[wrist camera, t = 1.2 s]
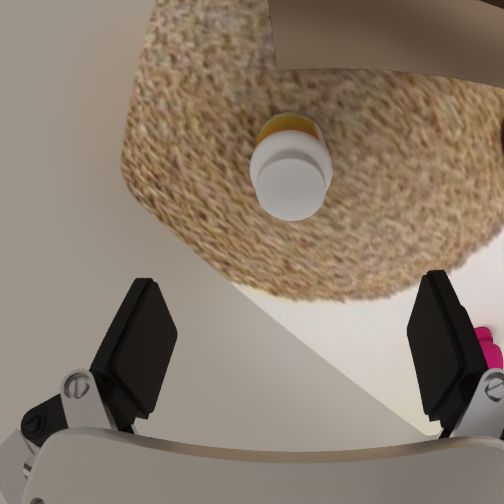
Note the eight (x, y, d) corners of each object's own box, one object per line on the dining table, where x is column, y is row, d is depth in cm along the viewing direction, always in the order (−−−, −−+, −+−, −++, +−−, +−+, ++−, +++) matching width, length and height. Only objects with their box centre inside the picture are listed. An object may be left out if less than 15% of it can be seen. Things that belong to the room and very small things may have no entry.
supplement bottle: (245, 135, 25) (223, 182, 18) (297, 97, 23) (301, 126, 15) (284, 181, 28) (280, 246, 20) (335, 148, 25) (356, 202, 17)
